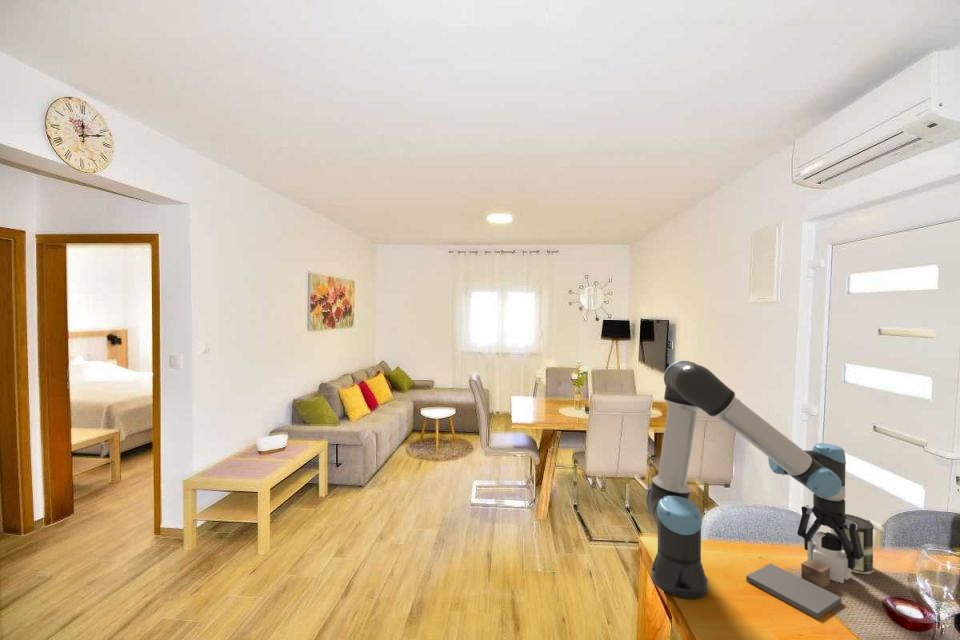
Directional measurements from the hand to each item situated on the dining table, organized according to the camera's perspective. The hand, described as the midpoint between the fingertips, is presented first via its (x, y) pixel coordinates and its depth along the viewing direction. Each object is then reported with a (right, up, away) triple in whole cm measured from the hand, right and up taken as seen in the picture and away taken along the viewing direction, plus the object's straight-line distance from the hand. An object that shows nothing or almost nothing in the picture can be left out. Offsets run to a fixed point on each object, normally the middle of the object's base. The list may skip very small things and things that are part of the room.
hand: (828, 569), depth 128 cm
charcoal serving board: (-17, -2, -8) cm, 19 cm away
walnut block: (-7, -2, -4) cm, 8 cm away
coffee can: (+11, -2, +5) cm, 12 cm away
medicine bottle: (0, -2, 0) cm, 2 cm away
